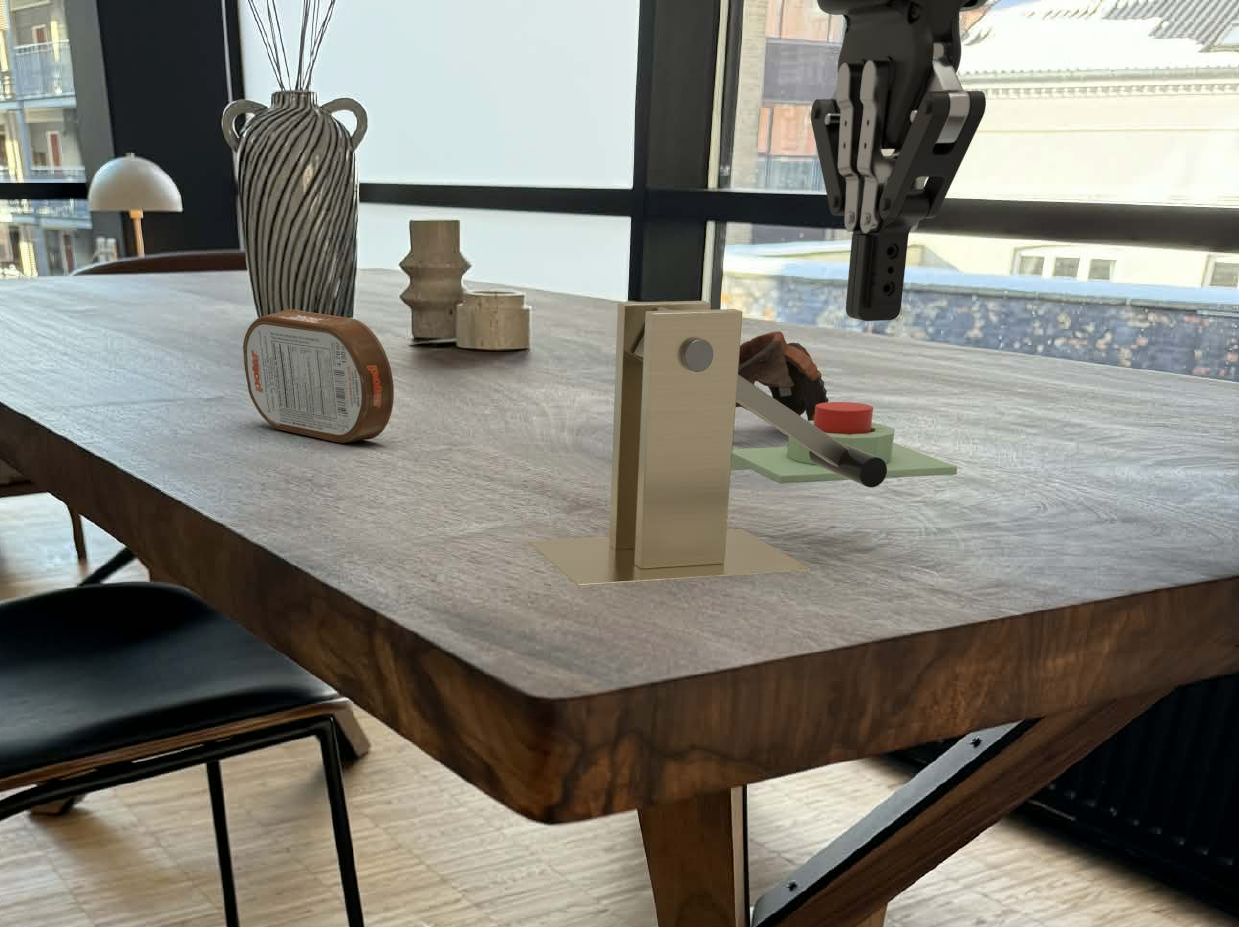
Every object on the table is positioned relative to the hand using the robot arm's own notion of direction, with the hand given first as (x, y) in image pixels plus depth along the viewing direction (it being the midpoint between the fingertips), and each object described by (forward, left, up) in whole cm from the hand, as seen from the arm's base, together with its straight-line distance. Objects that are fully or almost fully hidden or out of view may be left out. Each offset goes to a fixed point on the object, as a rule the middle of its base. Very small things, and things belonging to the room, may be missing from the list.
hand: (871, 318), depth 73 cm
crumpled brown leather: (-12, -38, -12) cm, 42 cm away
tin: (+21, -46, -12) cm, 52 cm away
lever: (+6, 0, -5) cm, 8 cm away
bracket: (+10, 0, -12) cm, 16 cm away
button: (-9, -20, -9) cm, 24 cm away
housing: (-9, -20, -12) cm, 25 cm away
